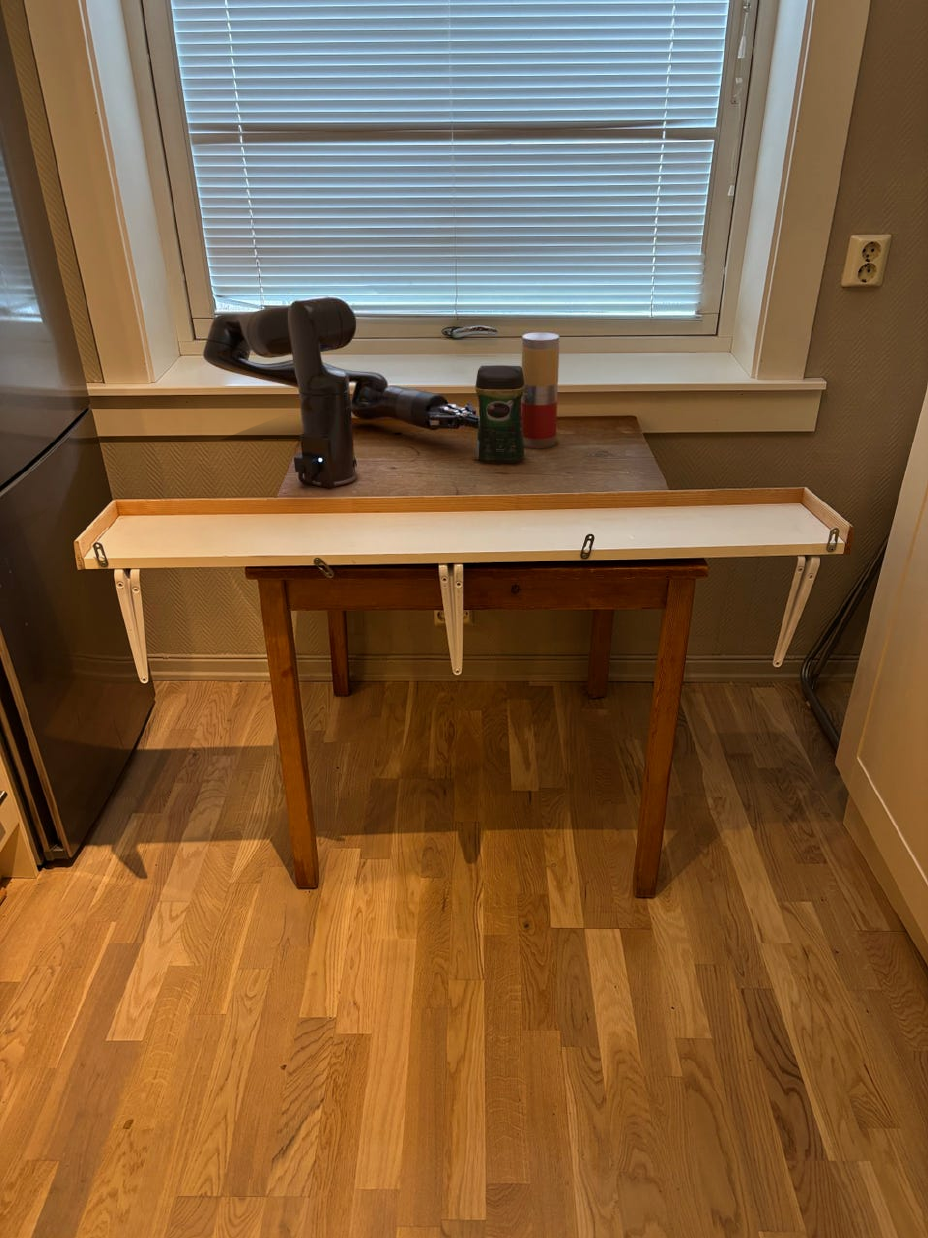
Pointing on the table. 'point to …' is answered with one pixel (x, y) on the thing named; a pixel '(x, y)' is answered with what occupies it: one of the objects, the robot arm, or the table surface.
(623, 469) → the table surface
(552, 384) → the tin cans
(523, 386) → the coffee jar
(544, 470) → the table surface
